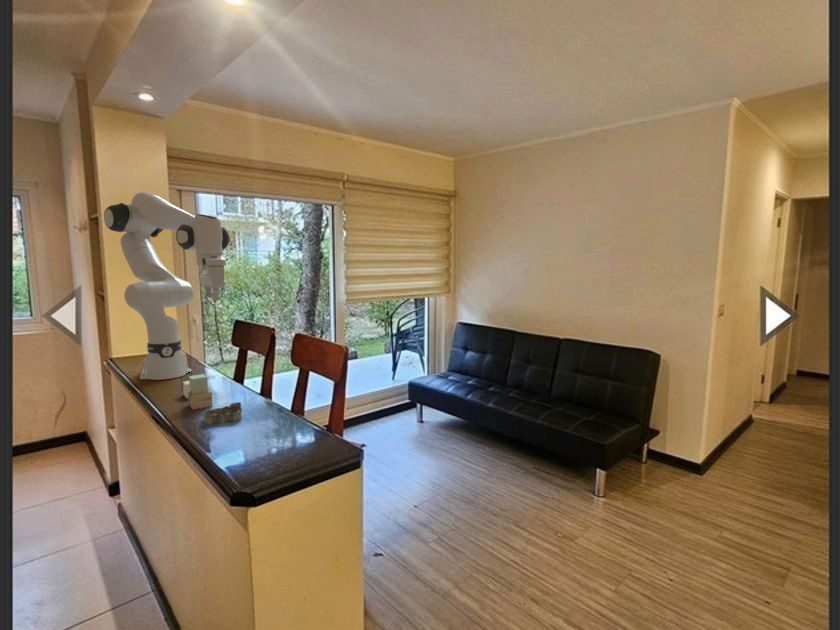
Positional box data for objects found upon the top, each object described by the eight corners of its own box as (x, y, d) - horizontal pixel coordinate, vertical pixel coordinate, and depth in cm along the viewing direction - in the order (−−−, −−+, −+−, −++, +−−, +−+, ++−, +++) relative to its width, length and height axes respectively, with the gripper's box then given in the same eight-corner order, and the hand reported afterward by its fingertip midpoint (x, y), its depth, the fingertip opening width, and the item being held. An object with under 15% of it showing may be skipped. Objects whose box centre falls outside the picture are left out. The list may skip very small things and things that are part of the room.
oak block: (188, 405, 149) (187, 390, 148) (207, 401, 152) (206, 387, 152) (192, 410, 144) (191, 395, 143) (212, 406, 148) (211, 391, 147)
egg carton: (243, 413, 142) (242, 401, 141) (241, 422, 135) (240, 409, 134) (206, 417, 139) (205, 404, 138) (202, 426, 131) (201, 412, 131)
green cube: (189, 390, 148) (188, 376, 147) (204, 388, 151) (203, 374, 150) (193, 394, 145) (192, 379, 144) (207, 391, 147) (207, 377, 147)
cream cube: (183, 395, 159) (182, 381, 158) (197, 392, 162) (196, 379, 161) (186, 398, 155) (185, 384, 155) (200, 396, 158) (199, 382, 157)
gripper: (194, 259, 165) (196, 296, 167) (207, 260, 149) (209, 301, 151) (212, 259, 169) (214, 295, 171) (227, 260, 153) (229, 300, 155)
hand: (212, 298), depth 161 cm, fingers open, 8 cm apart
